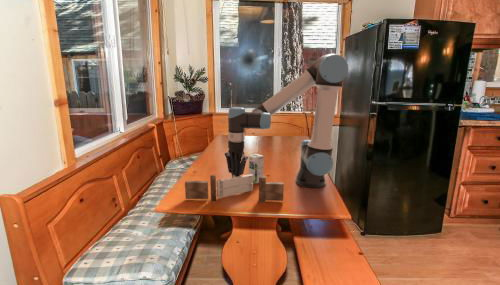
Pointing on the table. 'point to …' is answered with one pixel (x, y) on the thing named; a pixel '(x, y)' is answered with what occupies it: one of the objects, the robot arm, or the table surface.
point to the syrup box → (256, 166)
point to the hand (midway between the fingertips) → (235, 187)
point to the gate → (234, 185)
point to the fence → (200, 189)
